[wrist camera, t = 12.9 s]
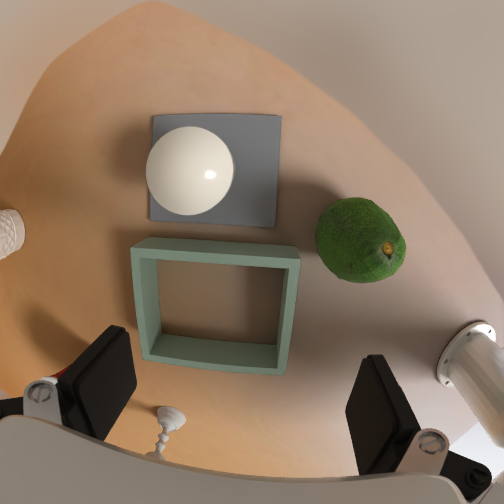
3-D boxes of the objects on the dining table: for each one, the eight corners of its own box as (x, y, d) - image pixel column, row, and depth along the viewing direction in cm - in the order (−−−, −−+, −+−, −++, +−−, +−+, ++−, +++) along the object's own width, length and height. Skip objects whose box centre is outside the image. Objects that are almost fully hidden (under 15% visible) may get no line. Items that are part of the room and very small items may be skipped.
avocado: (387, 230, 31) (441, 261, 19) (339, 276, 33) (372, 327, 21) (344, 178, 30) (388, 183, 18) (293, 227, 31) (308, 259, 20)
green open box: (295, 246, 32) (300, 259, 27) (283, 351, 36) (285, 375, 31) (148, 236, 32) (130, 247, 28) (155, 338, 36) (142, 359, 31)
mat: (281, 117, 28) (281, 116, 28) (274, 226, 31) (274, 227, 31) (155, 116, 29) (153, 115, 28) (151, 219, 32) (149, 220, 31)
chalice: (145, 400, 40) (105, 485, 23) (182, 401, 39) (151, 496, 22) (160, 428, 42) (131, 508, 24) (196, 430, 41) (174, 517, 24)
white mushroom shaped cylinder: (244, 138, 28) (235, 127, 20) (239, 203, 30) (228, 218, 22) (179, 136, 29) (148, 127, 20) (176, 199, 31) (144, 212, 22)
